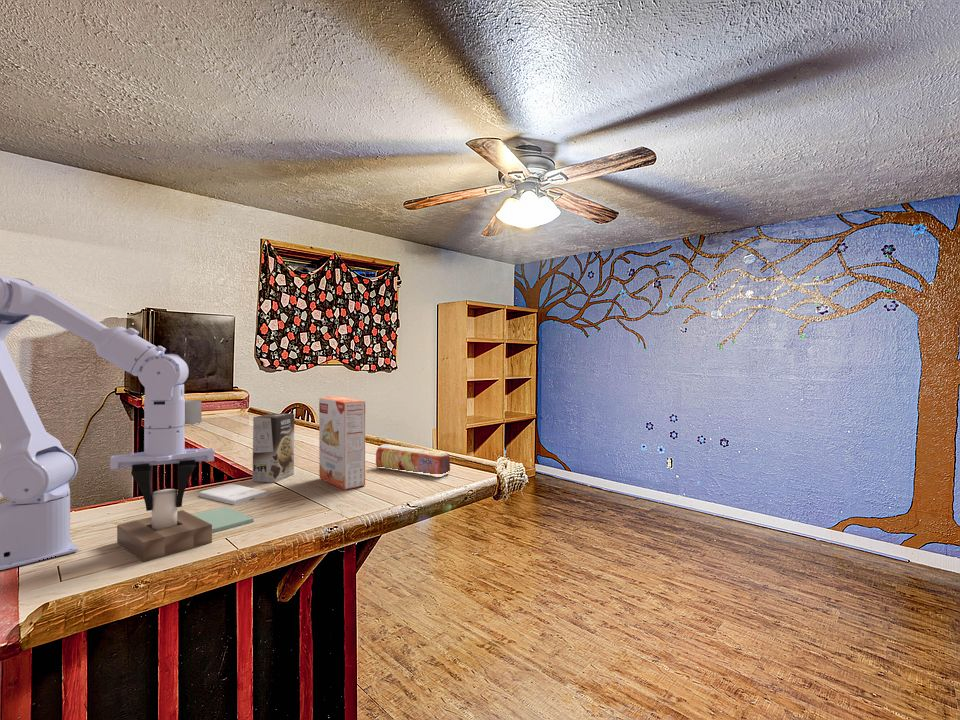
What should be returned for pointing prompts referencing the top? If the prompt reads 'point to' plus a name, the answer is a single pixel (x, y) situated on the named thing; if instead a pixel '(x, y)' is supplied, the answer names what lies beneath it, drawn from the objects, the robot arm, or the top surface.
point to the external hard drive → (232, 494)
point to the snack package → (412, 459)
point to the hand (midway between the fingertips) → (164, 507)
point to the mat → (224, 518)
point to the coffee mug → (192, 411)
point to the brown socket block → (163, 536)
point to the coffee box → (273, 447)
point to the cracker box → (342, 441)
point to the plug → (164, 509)
